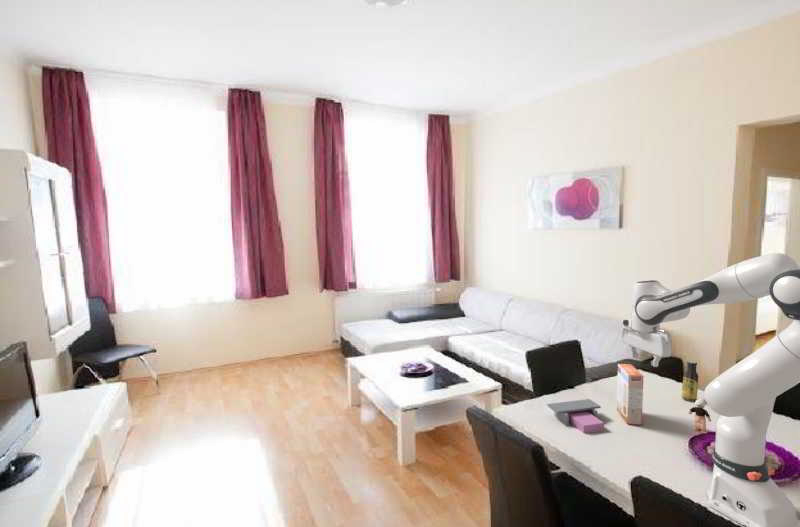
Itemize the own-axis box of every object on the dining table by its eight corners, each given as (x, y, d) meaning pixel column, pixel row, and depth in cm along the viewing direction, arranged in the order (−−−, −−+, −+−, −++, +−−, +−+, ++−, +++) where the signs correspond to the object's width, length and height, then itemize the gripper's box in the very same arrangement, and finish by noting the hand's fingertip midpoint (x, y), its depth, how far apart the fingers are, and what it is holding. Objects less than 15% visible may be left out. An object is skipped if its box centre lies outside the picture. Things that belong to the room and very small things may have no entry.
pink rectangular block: (603, 431, 165) (604, 422, 165) (583, 434, 163) (583, 425, 163) (580, 414, 180) (580, 406, 179) (561, 417, 178) (561, 409, 178)
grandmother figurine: (712, 432, 161) (713, 400, 160) (709, 435, 159) (711, 403, 157) (689, 425, 167) (690, 394, 166) (686, 428, 164) (687, 397, 163)
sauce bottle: (679, 398, 191) (680, 360, 190) (686, 396, 194) (688, 358, 192) (692, 403, 186) (694, 364, 184) (700, 400, 188) (701, 362, 187)
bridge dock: (603, 420, 173) (603, 408, 172) (559, 426, 169) (559, 413, 169) (589, 410, 182) (589, 398, 182) (547, 415, 178) (547, 404, 178)
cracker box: (643, 425, 168) (644, 375, 166) (626, 424, 169) (627, 374, 167) (631, 410, 181) (632, 363, 179) (616, 409, 182) (617, 363, 180)
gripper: (677, 331, 141) (675, 370, 142) (632, 317, 161) (631, 352, 162) (660, 332, 140) (659, 372, 141) (618, 319, 160) (617, 354, 161)
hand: (644, 361), depth 152 cm, fingers open, 8 cm apart
